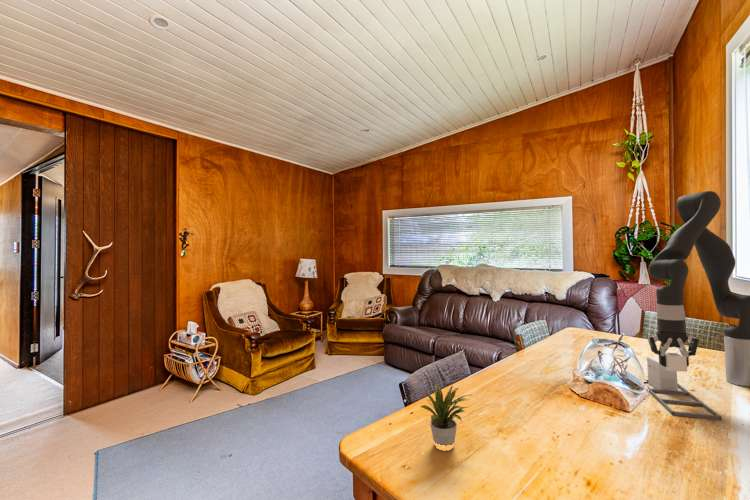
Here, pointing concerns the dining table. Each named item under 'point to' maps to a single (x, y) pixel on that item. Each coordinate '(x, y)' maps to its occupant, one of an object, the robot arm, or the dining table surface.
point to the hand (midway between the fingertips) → (673, 366)
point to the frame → (684, 392)
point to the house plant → (444, 416)
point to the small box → (661, 375)
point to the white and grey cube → (675, 362)
